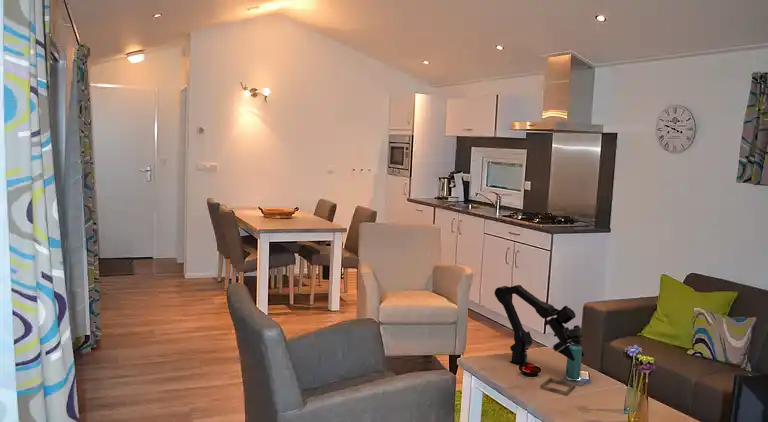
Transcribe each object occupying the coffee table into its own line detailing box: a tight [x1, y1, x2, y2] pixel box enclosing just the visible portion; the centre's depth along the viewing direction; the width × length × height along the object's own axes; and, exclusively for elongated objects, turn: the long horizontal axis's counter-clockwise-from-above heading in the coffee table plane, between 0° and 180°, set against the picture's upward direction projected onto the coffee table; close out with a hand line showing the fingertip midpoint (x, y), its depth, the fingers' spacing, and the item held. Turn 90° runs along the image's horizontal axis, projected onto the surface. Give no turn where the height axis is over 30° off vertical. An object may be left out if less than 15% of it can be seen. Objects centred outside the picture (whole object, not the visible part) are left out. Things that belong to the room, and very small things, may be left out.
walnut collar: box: [539, 377, 576, 396], centre depth 291 cm, size 12×12×2 cm
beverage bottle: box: [565, 337, 583, 379], centre depth 299 cm, size 6×7×20 cm
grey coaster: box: [559, 374, 587, 387], centre depth 301 cm, size 10×10×1 cm
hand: (578, 358), depth 299 cm, fingers open, 9 cm apart
